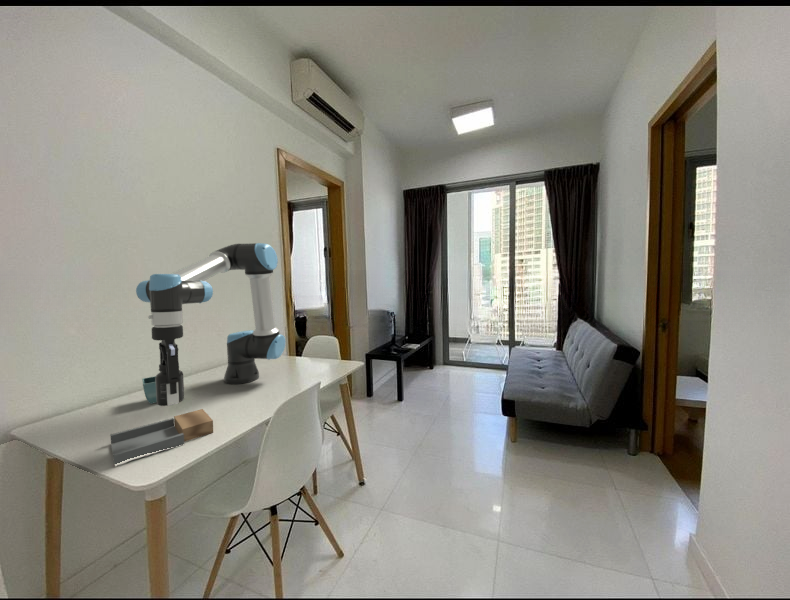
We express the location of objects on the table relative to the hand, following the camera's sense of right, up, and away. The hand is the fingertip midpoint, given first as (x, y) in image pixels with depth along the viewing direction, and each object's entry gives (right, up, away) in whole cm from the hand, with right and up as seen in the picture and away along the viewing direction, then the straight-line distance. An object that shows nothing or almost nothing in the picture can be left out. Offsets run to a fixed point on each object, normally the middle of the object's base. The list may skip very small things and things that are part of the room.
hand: (170, 400), depth 92 cm
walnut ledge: (+4, -11, +5) cm, 13 cm away
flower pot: (-26, -10, +28) cm, 40 cm away
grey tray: (-4, -12, -3) cm, 13 cm away
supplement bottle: (0, -1, 0) cm, 1 cm away
